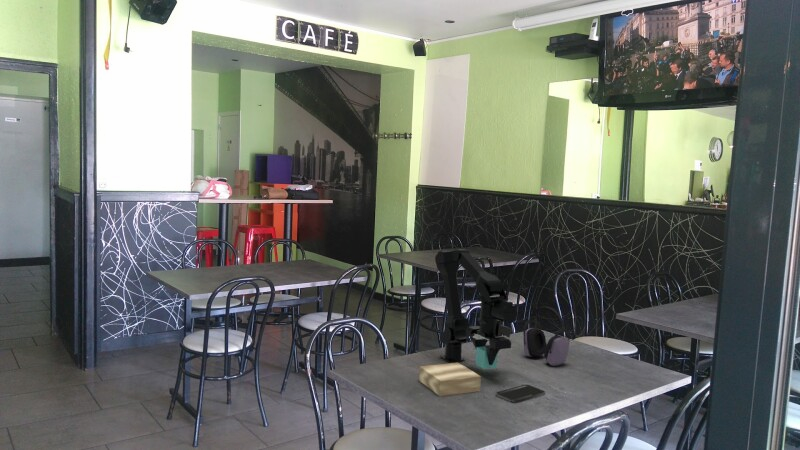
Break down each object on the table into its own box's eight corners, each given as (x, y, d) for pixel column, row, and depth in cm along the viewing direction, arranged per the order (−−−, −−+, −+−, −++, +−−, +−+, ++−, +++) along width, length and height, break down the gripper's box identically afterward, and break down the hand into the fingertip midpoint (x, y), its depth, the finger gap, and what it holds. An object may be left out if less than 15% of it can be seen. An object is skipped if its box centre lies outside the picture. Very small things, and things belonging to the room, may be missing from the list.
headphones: (536, 352, 221) (539, 301, 220) (571, 365, 207) (575, 310, 206) (518, 356, 216) (522, 303, 214) (553, 369, 202) (557, 313, 200)
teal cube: (475, 364, 194) (476, 347, 194) (488, 363, 196) (489, 345, 196) (484, 369, 189) (485, 351, 189) (496, 367, 192) (497, 350, 191)
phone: (494, 392, 175) (527, 384, 184) (493, 396, 175) (527, 387, 184) (513, 401, 168) (547, 391, 177) (513, 405, 168) (546, 395, 177)
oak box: (419, 381, 185) (419, 366, 184) (457, 377, 191) (457, 362, 190) (439, 397, 172) (440, 381, 172) (480, 392, 178) (480, 376, 177)
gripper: (526, 321, 187) (523, 368, 188) (492, 308, 203) (490, 352, 205) (497, 323, 182) (494, 372, 183) (465, 310, 199) (463, 355, 200)
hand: (486, 362), depth 193 cm, fingers closed on teal cube, 5 cm apart
